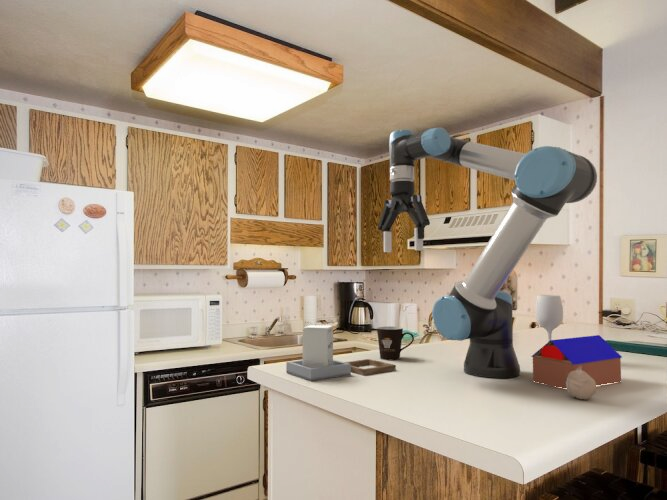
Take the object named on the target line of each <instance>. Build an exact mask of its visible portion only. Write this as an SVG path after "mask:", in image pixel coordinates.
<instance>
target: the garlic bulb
mask: <svg viewBox="0 0 667 500" xmlns="http://www.w3.org/2000/svg"><path fill="white" fill-rule="evenodd" d="M581 369H582V367H581V365H580V366H579V367H577V368H576V370H574V371H571V372H570V373H569V374H568V378H567V379H566V382H565V383H566V388H567V390H566V391H567V393H568V394H569V395H570V396H572V397H573V398H575V397H576V398H575V399H579V400H582V399H586V400H589V399H591V398H592V397H593V396H594V395H595V394H596V391H597V387H596V382H595V380H594V379H593V378H591V377H590V376H589V375H588V374H587V373H586V372H584V371H582V370H581Z"/></svg>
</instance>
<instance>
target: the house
mask: <svg viewBox="0 0 667 500" xmlns="http://www.w3.org/2000/svg"><path fill="white" fill-rule="evenodd" d="M530 357H532V377H533V378H532V380H533V381H535V382H539V383H538V384H540V383H544V384H547V385H546V386H548V385H550V386H549V387H552V386H556V387H562V388H566V383H565V382H566V379H567V378H568V374H569V373H570V372H571V371H574V370H576V368H577V367H579V366H580V365H581V367H582V369H581V370H582V371H584V372H586V373H587V374H588V375H589V376H590V377H591V378H593V379H594V380H595V382H596V385H601V384H607V383H614V382H620V381H621V382H622V370H621V369H622V368H621V367H622V366H621V362H622V361H621V360H622V359H621V358H623V356H622V355H621V354H620V353H619V352H618V351H617V350H615V349H614V348H613V347H612V346H611V344H609V343H608V342H607V341H606V340H605V339H604V338H603V337H602V336H601V335H600V334H598V335H597V334H595V335H590V336H589V335H587V336H577V337H569V338H568V337H567V338H560V339H559V338H558V339H551V340H550V341H549V342H548V341H547V343H545V344H544V345H543V346H542V347H541V348H540V349H538V350H537V351H536V352H535V353H533V355H531V356H530ZM535 382H534V383H535ZM544 384H543V385H544ZM556 387H555V388H556Z"/></svg>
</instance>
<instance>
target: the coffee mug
mask: <svg viewBox="0 0 667 500" xmlns="http://www.w3.org/2000/svg"><path fill="white" fill-rule="evenodd" d="M403 331H404V327H402V326H387V325H386V326H378V327H376V334H377V340H378V341H377V343H378V349H379V356H380V357H379V358H380V360H385V361H396V360H397V359H398V360H400V359H401V352H402V351H403V350H404V349H406V348H408V347H409V346H411V345H412V344H413V342H414V340H415V338H414V334H413V333H411V332H408V331H406V332H404V333H403ZM405 335H409V336H410V337H411V341H410V342H409V343H408V344H407V345H405V346H403V347H402V340H403V339H404V336H405Z"/></svg>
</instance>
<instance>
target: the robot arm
mask: <svg viewBox="0 0 667 500" xmlns="http://www.w3.org/2000/svg"><path fill="white" fill-rule="evenodd" d="M388 148H389V150H388V151H389V181H390V183H389V195H390V196H391V199H384V203H383V204H384V205H383V210H382V213H381V216H380V220H379V223H378V226H377V230H378V231H381V232H382V243H383V253H392V252H393V251H392V248H393V247H392V244H393V243H392V242H393V241H392V239H393V238H392V232H393V231H391V229H392V227H393V225H394V224H395V221H396V220H397V217H398V216H399V215H400V214H404V213H407V214H408V216H409V217H410V219H411V221H412V222H413V224H414V225H415V227H414V229H413V231H414V232H413V233H414V238H413V239H414V251H419V252H420V251H424V239H425V228H426V227H428V226H430V224H431V222H430V219H429V217H428V214H427V211H426V209H425V206H424V204H423V201H422V195H420V194H415V193H416V192H415V188H416V186H415V185H416V184H415V182H414V181H415V179H416V177H415V161H417V160H422V159H428V158H429V159H433V160H437V161H441V162H444V163H448V164H452V165H456V166H460V167H464V168H466V169H467V168H468V169H471V170H475V171H479V172H483V173H487V174H490V175H494V176H497V177H500V178H504V179H507V180H508V179H509V180H512V181H514V183H515V185H514V187H513V188H512V190H511V191H510V192H511V195H512V202H511V205H510V206H509V207H508V210H507V211H506V213H505V214H504V216H503V218H502V219H501V221H500V222H499V225H497V228H496V229H495V230H494V232H493V234H491V237H490V239H489V240H488V241H487V244H486V245H485V247H484V249H483V250H482V252H481V253H480V255H479V257H478V258H477V260H476V261H475V263H474V265H473V266H472V268H471V269H470V271H469V273H468V275H466V277H465V279H464V280H458V281H456V283H455V284H454V286H453V287H452V289H451V291H450V292H449V294H447V295H443V296H441V297H438V299H437V300H436V301H435V302H434V305H433V307H432V313H431V316H432V320H433V324H434V328H435V330H436V331H437V332H438V333H439V335H440V336H442V337H443V338H445V339H446V340H449V341H461V342H462V341H465V340H469V346H468V349H467V352H466V356H465V359H464V361H463V372H464V373H466V374H469V375H471V376H477V377H482V378H483V377H484V378H485V377H486V378H494V379H497V378H498V379H499V378H502V379H505V378H508V379H509V378H515V377H516V378H517V377H519V376H521V366H520V365H521V364H519V360H518V357H517V354H516V351H515V348H514V341H513V340H514V338H513V337H514V336H513V334H514V333H513V332H514V331H513V330H514V329H513V328H514V327H513V324H514V323H513V308H514V306H513V298H512V295H511V294H510V293H509V292H507V291H503V290H502V291H501V289H502V287H503V286H504V284H505V283H506V282H507V280H508V278H509V277H510V275H511V274H512V272H513V271H514V269H515V268H516V266H517V265H518V263H519V261H520V260H521V259H522V257H523V255H524V254H525V253H526V250H528V248H529V246H530V245H531V243H532V242H533V240H534V239H535V238H536V236H537V234H538V233H539V231H540V230H541V229H542V227H543V225H544V224H545V222H546V221H547V220H548V219H551V218H554V217H557V216H558V215H560V214H559V213H560V212H561V210H563V207H564V206H565V205H566V204H574V203H577V202H581V201H583V200H584V199H587V198H588V196H589V195H591V194H592V192H593V191H594V190H595V188H596V185H597V181H598V173H597V169H596V167H595V165H594V163H592V162H591V161H590V160H589V159H587V158H586V157H585V156H583V155H581V154H580V155H579V154H577V153H573V152H571V151H569V150H566V149H564V148H562V147H560V146H559V147H557V146H553V145H552V146H550V145H544V146H543V145H542V146H539V147H536V148H533V149H531V150H530V151H528V152H526V153H524V152H519V151H514V150H511V149H505V148H501V147H496V146H492V145H487V144H482V143H478V142H473V141H469V140H464V139H460V138H458V137H457V138H456V137H452V136H451V135H450V134H449V132H448V131H446V129H445V128H443V127H435V128H432V127H431V128H430V129H429V128H428V129H427V130H424V131H421V132H420V131H419V132H416V133H414V131H412V130H410V129H396V130H394V131H392V132H391V133H390V136H389V145H388Z"/></svg>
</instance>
